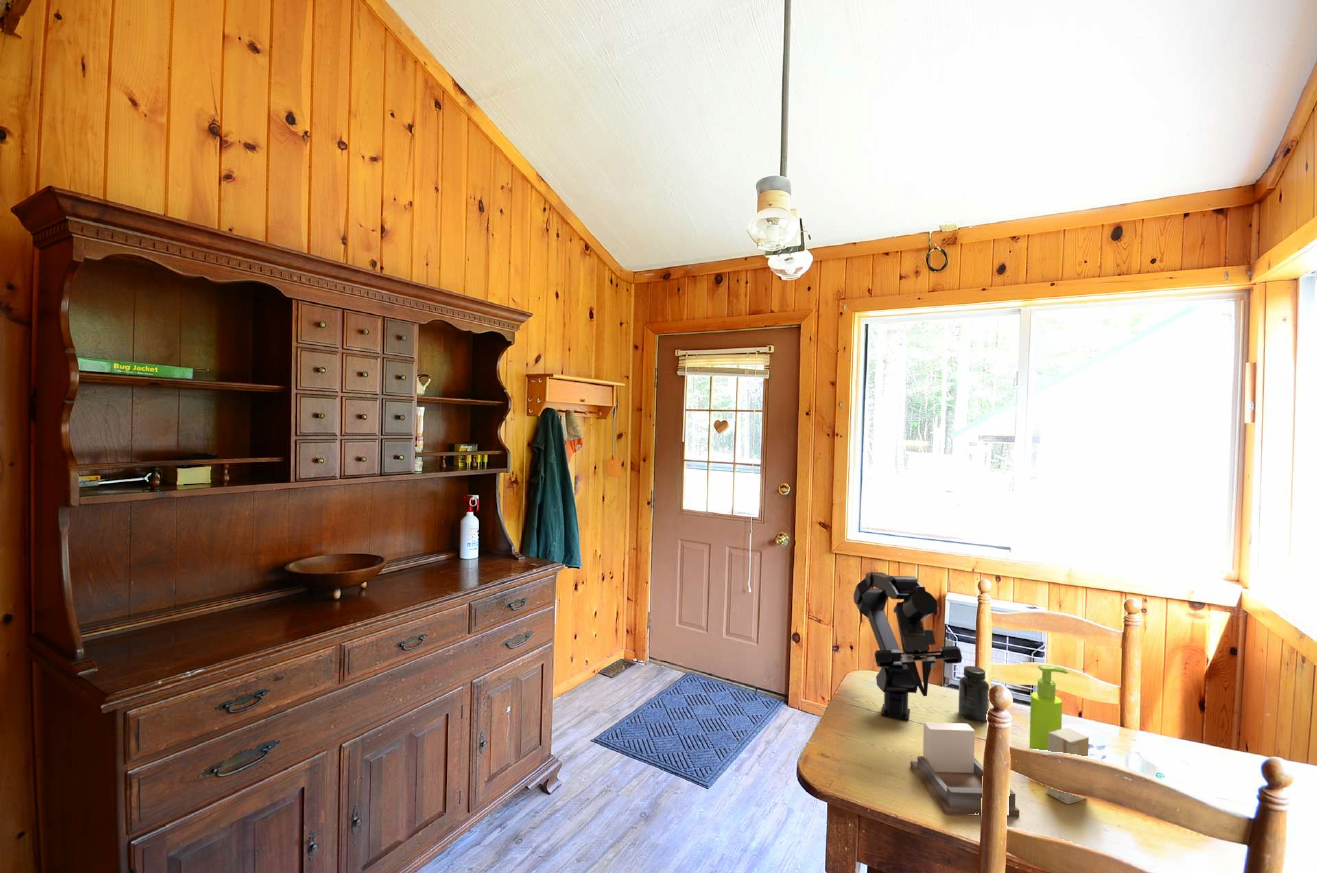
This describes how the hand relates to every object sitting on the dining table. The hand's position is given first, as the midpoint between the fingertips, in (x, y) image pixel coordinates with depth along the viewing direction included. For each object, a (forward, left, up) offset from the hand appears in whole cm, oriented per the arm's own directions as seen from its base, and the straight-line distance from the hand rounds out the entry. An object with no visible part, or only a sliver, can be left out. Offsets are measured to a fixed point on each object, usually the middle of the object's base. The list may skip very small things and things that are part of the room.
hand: (925, 696), depth 135 cm
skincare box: (+7, +26, -12) cm, 30 cm away
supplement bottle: (-23, +11, -12) cm, 28 cm away
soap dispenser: (-9, +25, -12) cm, 29 cm away
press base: (+15, +7, -12) cm, 20 cm away
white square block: (+10, +5, -10) cm, 15 cm away
